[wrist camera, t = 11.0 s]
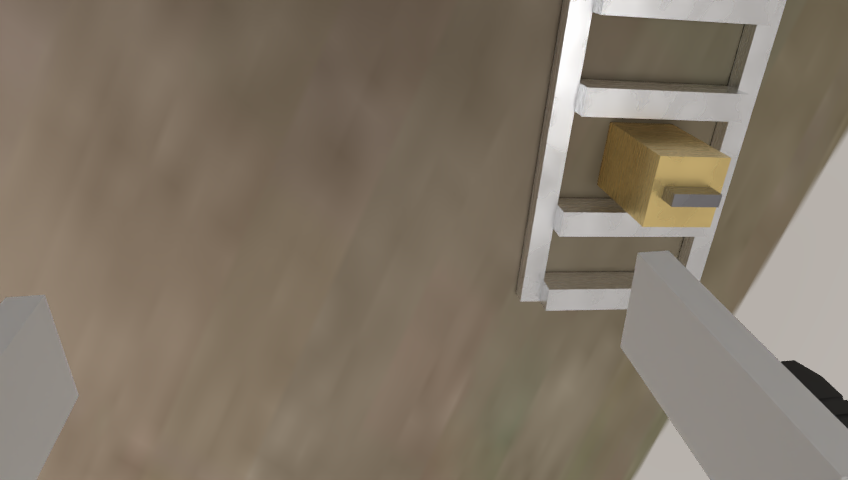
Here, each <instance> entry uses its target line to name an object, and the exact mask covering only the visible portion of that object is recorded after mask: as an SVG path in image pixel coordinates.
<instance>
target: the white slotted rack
mask: <svg viewBox="0 0 848 480" xmlns="http://www.w3.org/2000/svg"><path fill="white" fill-rule="evenodd" d="M785 4H786V0H563V3H562V9H561V16H560V22H559V28H558V34H557V41H556V47H555V53H554V59H553V65H552V72H551V78H550V84H549V90H548V96H547V103H546V109H545V115H544V121H543V127H542V134H541V140H540V146H539V152H538V158H537V165H536V171H535V177H534V183H533V189H532V196H531V202H530V208H529V214H528V221H527V227H526V233H525V239H524V245H523V252H522V258H521V264H520V270H519V276H518V283H517V289H516V294H517V296H518V298H519V300H520V301H540V302H541V304H542V306H543V307H544V309H545V311H552V310H604V309H628V303H629V298H630V292H631V287H632V282H633V276H634V272H545V270H546V264H547V259H548V253H549V248H550V242H551V237H552V232H553V229H554V230H555V231H556V233H557V234H558V235H559V237H684V240H683V243H682V247H681V250H680V254H679V257H678V261H679V262H680V263H681V264H682V265H683V266H684V267H685V268H686V269H687V270H688V271H689V272H690V273H691V274H692V275H693V276H694V277H695V278H696V279H697V280H698V281H699V282H700V279H701V276H702V272H703V269H704V266H705V263H706V259H707V256H708V253H709V250H710V246H711V243H712V240H713V237H714V234H715V230H716V227H717V224H718V221H719V217H720V214H721V211H722V208H723V204H724V201H725V198H726V195H727V191H728V188H729V185H730V182H731V178H732V175H733V172H734V169H735V165H736V162H737V159H738V156H739V153H740V149H741V146H742V143H743V140H744V136H745V133H746V130H747V127H748V123H749V120H750V117H751V114H752V110H753V107H754V104H755V101H756V97H757V94H758V91H759V88H760V85H761V81H762V78H763V75H764V72H765V68H766V65H767V62H768V59H769V55H770V52H771V49H772V46H773V42H774V39H775V36H776V33H777V29H778V26H779V23H780V20H781V17H782V13H783V10H784V7H785ZM592 12H594V13H597V14H600V15H613V16H629V17H644V18H660V19H676V20H691V21H707V22H723V23H738V24H745V26H744V30H743V33H742V37H741V40H740V44H739V47H738V51H737V54H736V58H735V61H734V65H733V68H732V72H731V75H730V79H729V82H728V86H724V85H702V84H680V83H658V82H636V81H614V80H593V79H580V78H581V72H582V67H583V61H584V56H585V50H586V45H587V39H588V34H589V28H590V23H591V17H592ZM574 111H575V112H576V113H578V114H579V115H581V116H582V117H610V118H638V119H666V120H695V121H717V124H716V128H715V131H714V135H713V138H712V142H711V145H710V146H711V147H713V148H715V149H717V150H718V151H720V152H722V153H724V154H726V155H727V156H729V157H731V161H730V164H729V168H728V171H727V174H726V177H725V181H724V184H723V187H722V190H721V194H722V198H721V202H720V205H719V207H716V210H715V213H714V217H713V220H712V223H711V226H710V227H642V226H641V225H640V224H639V223H638V222H637V221H636V220H635V219H633V218H632V217H631V216H630V215H629V214H628V213H627V212H626V211H625V210H624V209H623V208H622V207H621V206H620V205H618V204H617V203H616V202H615V201H614V200H613V199H604V198H559V193H560V188H561V182H562V177H563V171H564V166H565V160H566V155H567V149H568V144H569V138H570V133H571V127H572V122H573V116H574Z"/></svg>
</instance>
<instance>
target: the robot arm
mask: <svg viewBox="0 0 848 480" xmlns="http://www.w3.org/2000/svg"><path fill="white" fill-rule="evenodd" d="M620 347H621V348H622V350H623V351H624V353H625V354H626V356H627V357H628V359H629V360H630V362H631V363H632V365H633V366H634V367H635V369H636V370H637V372H638V373H639V375H640V376H641V378H642V379H643V381H644V382H645V384H646V385H647V387H648V388H649V390H650V391H651V393H652V394H653V396H654V397H655V399H656V400H657V401H658V403H659V404H660V406H661V407H662V409H663V410H664V412H665V413H666V415H667V416H668V418H669V419H670V421H671V422H672V423H673V425H674V427H675V428H676V430H677V431H678V432H679V434H680V435H681V437H682V438H683V440H684V441H685V443H686V444H687V446H688V447H689V449H690V450H691V452H692V453H693V454H694V456H695V458H696V459H697V461H698V462H699V463H700V465H701V466H702V468H703V469H704V471H705V472H706V474H707V475H708V477H709V478H710V480H848V401H847V400H843V398H842V397H843V396H842V395H841V394H840V393H839V392H838V391H836V389H834V388H833V387H832V386H831V385H830V384H829V383H828V382H827V381H826V380H825V379H824V378H823V377H821V376H820V375H818V374H817V373H815V372H813V371H812V370H810V369H808V368H806V367H804V366H803V365H801V364H800V363H798V362H796V361H794V360H793V361H782V362H780V361H779V360H778V359H777V358H776V357H775V356H774V355H773V354H772V353H771V352H770V351H769V350H768V349H767V348H766V347H765V346H764V345H763V344H762V343H761V342H760V341H759V340H758V339H757V338H756V337H755V336H754V335H753V334H752V333H751V332H750V331H749V330H748V329H747V328H746V327H745V326H744V325H743V324H742V323H741V322H740V321H739V320H738V319H737V318H736V317H735V316H734V315H733V314H732V313H731V312H730V311H729V310H728V309H727V308H726V307H725V306H724V305H723V304H722V303H721V302H720V301H719V300H718V299H717V298H716V297H715V296H714V295H713V294H712V293H711V292H710V291H709V290H708V289H707V288H706V287H705V286H703V285H702V284H701V283H700V282H699V281H698V280H697V279H696V278H695V277H694V276H693V275H692V274H691V273H690V272H689V271H688V270H687V269H686V268H685V267H684V266H683V265H682V264H681V263H680V262H679V261H678V260H677V259H676V258H675V257H674V256H673V255H672V254H671V253H670V252H669V251H656V252H642V253H638V255H637V260H636V265H635V271H634V276H633V282H632V287H631V292H630V298H629V303H628V309H627V314H626V319H625V325H624V330H623V336H622V341H621V346H620ZM78 396H79V395H78V392H77V389H76V386H75V383H74V380H73V377H72V374H71V371H70V368H69V365H68V362H67V359H66V356H65V353H64V350H63V347H62V344H61V341H60V338H59V335H58V332H57V329H56V326H55V323H54V320H53V317H52V314H51V311H50V308H49V305H48V303H47V300H46V297H45V295H35V296H20V297H6V298H5V299H4V300H3V301H2V303H1V304H0V480H36V479H37V477H38V475H39V473H40V471H41V469H42V468H43V466H44V464H45V462H46V460H47V458H48V456H49V454H50V452H51V450H52V448H53V446H54V444H55V442H56V440H57V438H58V436H59V434H60V432H61V430H62V428H63V426H64V424H65V422H66V420H67V418H68V416H69V414H70V412H71V410H72V408H73V406H74V404H75V402H76V400H77V398H78Z"/></svg>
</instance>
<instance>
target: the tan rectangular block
mask: <svg viewBox="0 0 848 480" xmlns="http://www.w3.org/2000/svg"><path fill="white" fill-rule="evenodd" d="M730 161H731V157H729V156H727V155H726V154H724V153H722V152H720V151H718V150H717V149H715V148H713V147H711V146H710V145H708V144H706V143H704V142H702V141H701V140H699V139H697V138H695V137H694V136H692V135H690V134H688V133H686V132H685V131H683V130H681V129H679V128H678V127H676V126H674V125H672V124H649V123H621V122H610V126H609V131H608V136H607V140H606V145H605V150H604V155H603V159H602V164H601V169H600V174H599V178H598V183H597V185H598V186H599V187H600V188H601V189H602V190H603V191H605V192H606V193H607V194H608V195H609V196H610V197H611V198H612V199H613V200H614V201H615V202H616V203H617V204H618V205H620V206H621V207H622V208H623V209H624V210H625V211H626V212H627V213H628V214H629V215H630V216H631V217H632V218H633V219H635V220H636V221H637V222H638V223H639V224H640V225H641V226H642V227H710V226H711V223H712V220H713V217H714V213H715V210H716V207H719V205H720V202H721V198H722V194H721V190H722V187H723V184H724V181H725V177H726V174H727V171H728V168H729V164H730Z"/></svg>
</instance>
